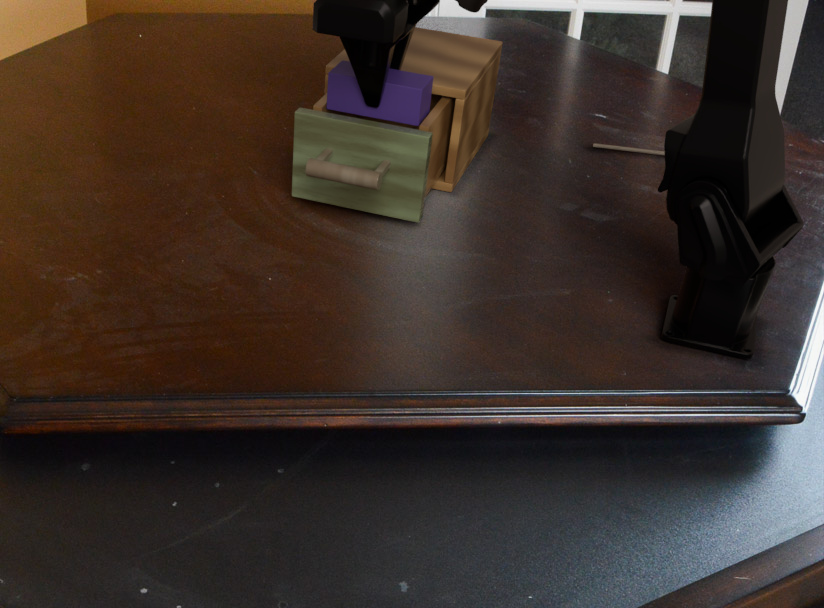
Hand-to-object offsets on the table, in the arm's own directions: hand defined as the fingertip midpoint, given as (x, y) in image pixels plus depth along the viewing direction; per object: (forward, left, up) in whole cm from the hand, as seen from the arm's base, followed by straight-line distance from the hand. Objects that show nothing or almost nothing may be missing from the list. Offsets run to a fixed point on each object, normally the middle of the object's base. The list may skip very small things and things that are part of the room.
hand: (379, 99), depth 87 cm
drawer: (0, 0, -8) cm, 8 cm away
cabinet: (+12, 0, -9) cm, 14 cm away
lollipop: (+22, -24, -9) cm, 33 cm away
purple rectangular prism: (0, 0, -1) cm, 1 cm away
